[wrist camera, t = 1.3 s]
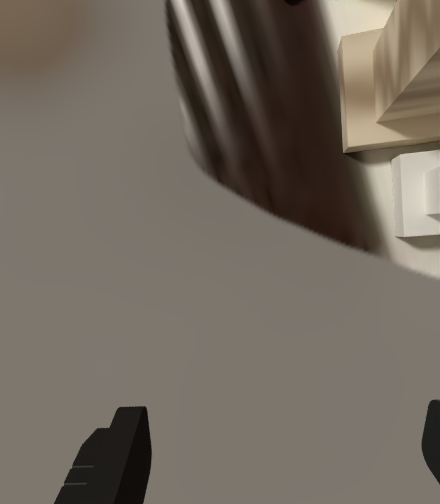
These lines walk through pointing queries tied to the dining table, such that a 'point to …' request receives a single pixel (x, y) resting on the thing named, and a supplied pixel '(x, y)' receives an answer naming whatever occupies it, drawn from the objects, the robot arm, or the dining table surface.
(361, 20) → the dining table surface
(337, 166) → the dining table surface
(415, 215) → the rest post
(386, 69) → the tall stand
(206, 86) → the dining table surface
